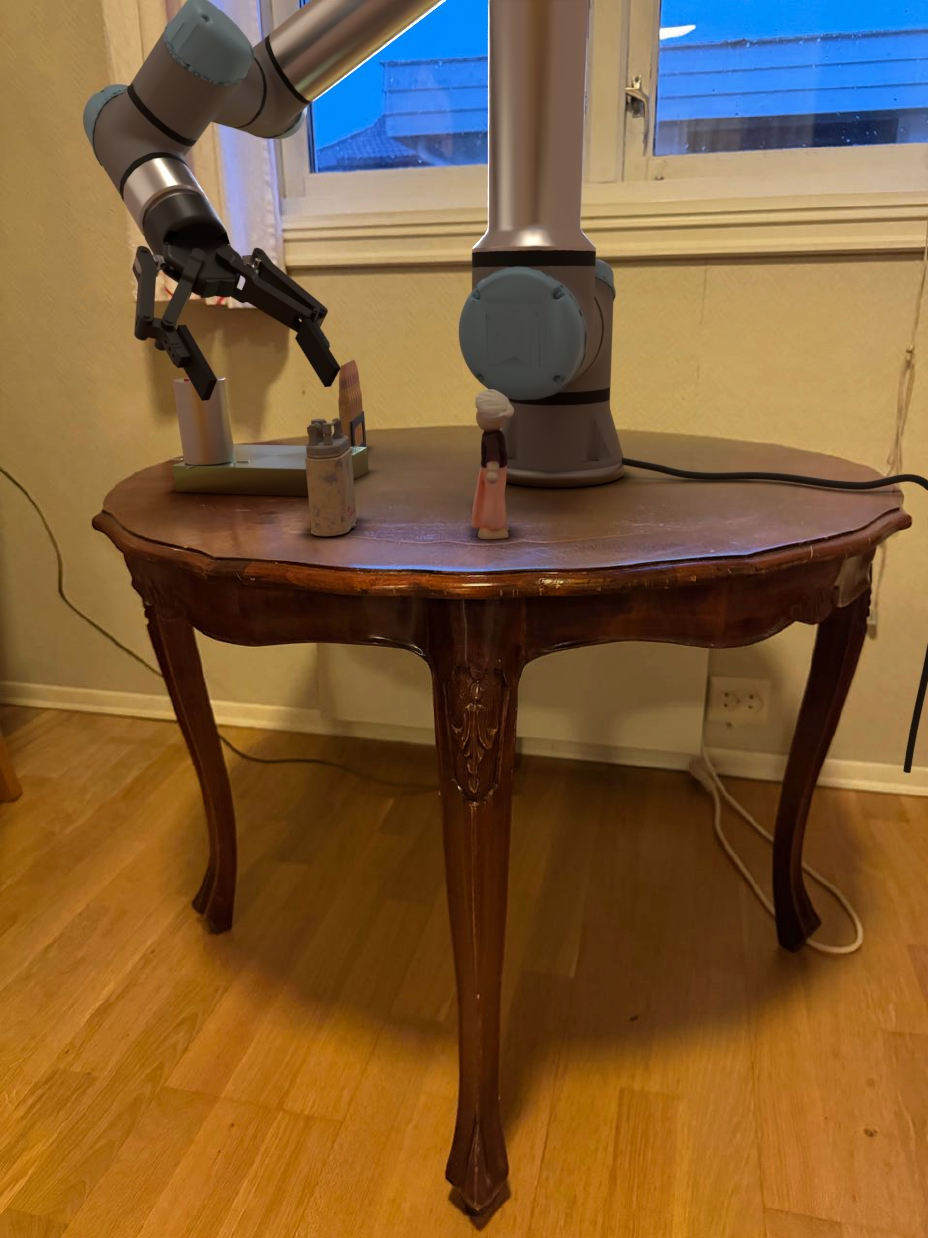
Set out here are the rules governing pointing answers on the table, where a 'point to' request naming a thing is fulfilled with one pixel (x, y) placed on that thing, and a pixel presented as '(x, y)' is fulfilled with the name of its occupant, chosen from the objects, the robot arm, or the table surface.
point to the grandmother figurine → (491, 466)
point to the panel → (257, 471)
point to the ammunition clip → (351, 405)
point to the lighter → (330, 479)
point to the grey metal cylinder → (204, 424)
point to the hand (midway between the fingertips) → (274, 384)
